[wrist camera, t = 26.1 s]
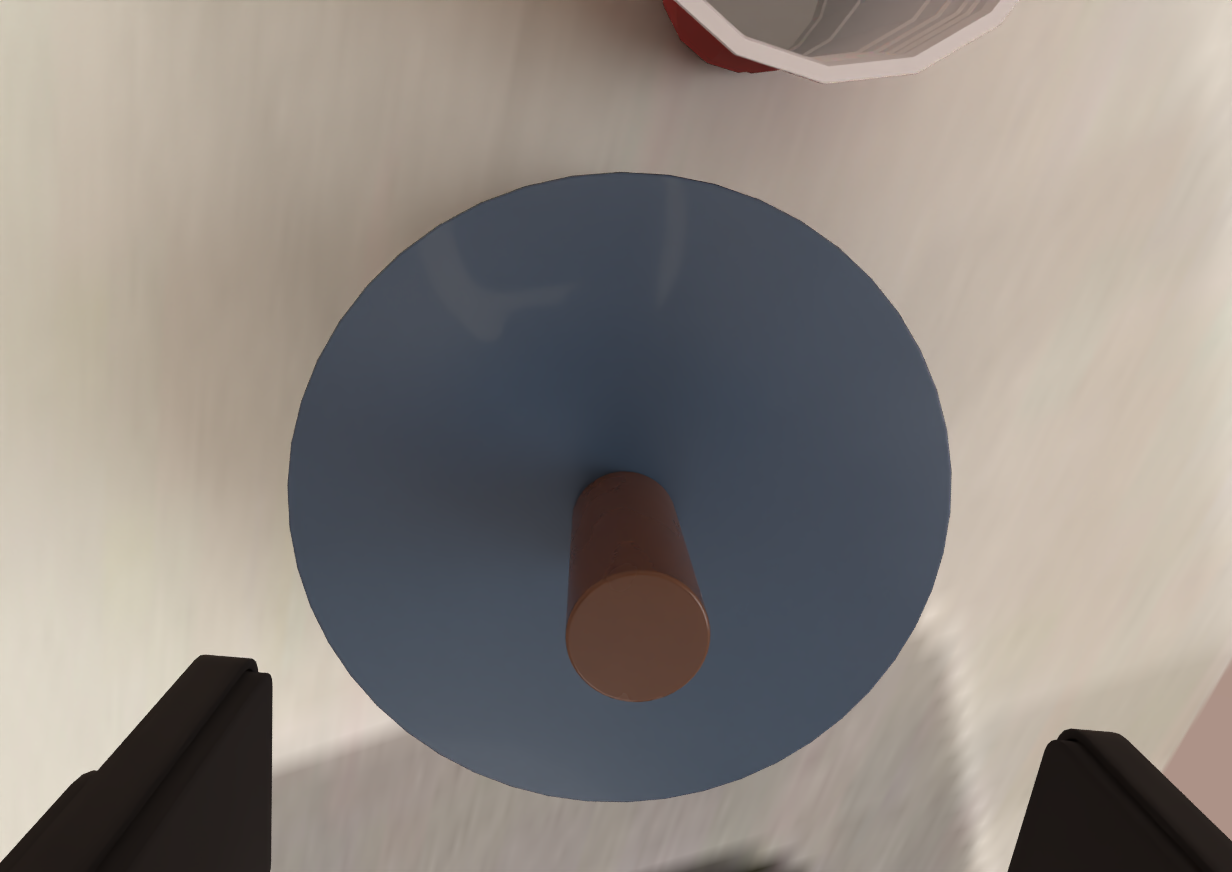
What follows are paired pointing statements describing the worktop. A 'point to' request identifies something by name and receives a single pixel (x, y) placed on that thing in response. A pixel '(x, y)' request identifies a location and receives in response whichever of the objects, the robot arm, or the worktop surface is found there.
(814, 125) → the worktop surface
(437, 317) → the lid
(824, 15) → the plastic cup
